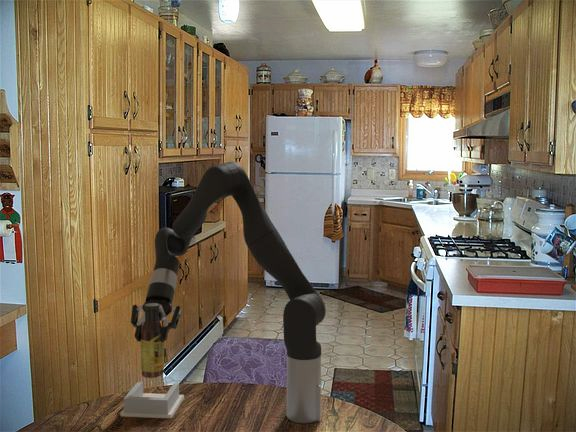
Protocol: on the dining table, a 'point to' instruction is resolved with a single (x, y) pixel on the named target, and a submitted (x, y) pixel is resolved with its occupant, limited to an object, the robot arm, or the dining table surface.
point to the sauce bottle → (152, 343)
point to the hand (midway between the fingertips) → (150, 340)
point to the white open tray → (151, 403)
